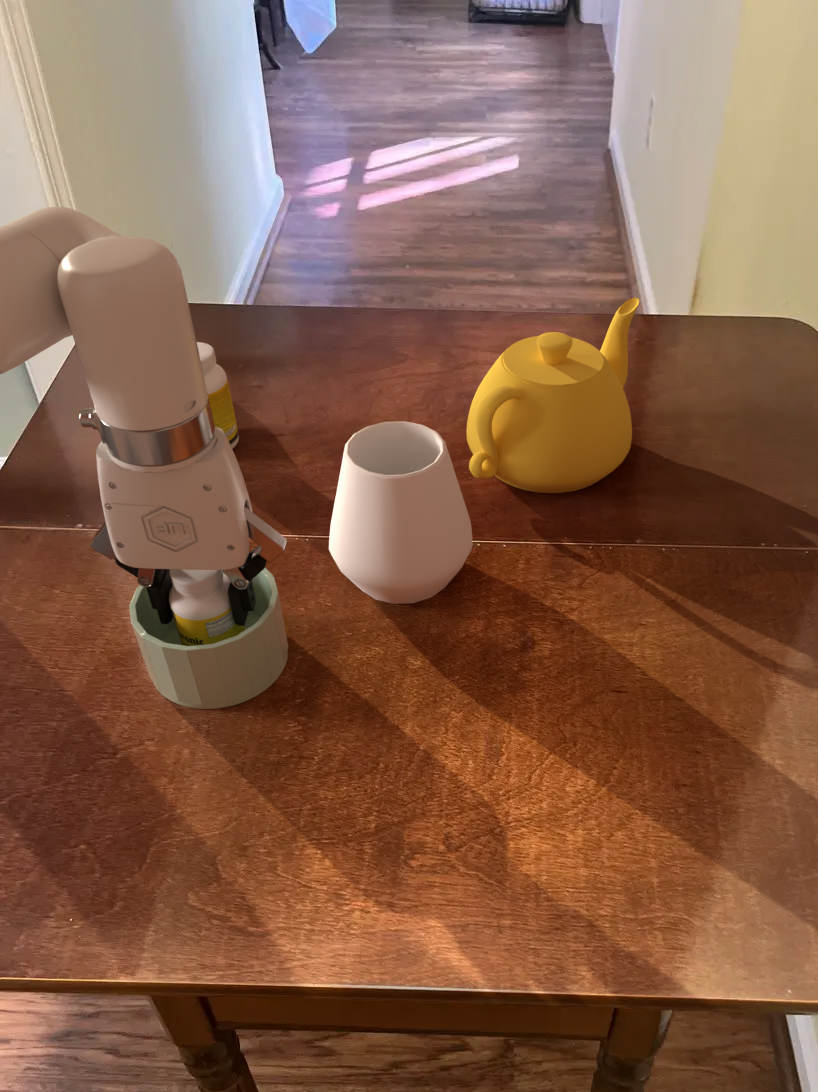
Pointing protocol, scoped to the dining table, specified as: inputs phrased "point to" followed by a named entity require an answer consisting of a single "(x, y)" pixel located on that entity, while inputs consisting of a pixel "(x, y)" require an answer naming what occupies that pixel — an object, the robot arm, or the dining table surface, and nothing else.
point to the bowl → (214, 653)
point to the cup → (399, 513)
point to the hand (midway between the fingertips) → (206, 611)
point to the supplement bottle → (202, 606)
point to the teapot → (554, 411)
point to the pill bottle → (218, 393)
